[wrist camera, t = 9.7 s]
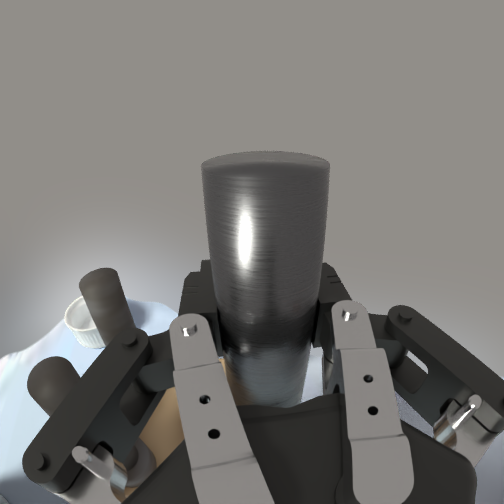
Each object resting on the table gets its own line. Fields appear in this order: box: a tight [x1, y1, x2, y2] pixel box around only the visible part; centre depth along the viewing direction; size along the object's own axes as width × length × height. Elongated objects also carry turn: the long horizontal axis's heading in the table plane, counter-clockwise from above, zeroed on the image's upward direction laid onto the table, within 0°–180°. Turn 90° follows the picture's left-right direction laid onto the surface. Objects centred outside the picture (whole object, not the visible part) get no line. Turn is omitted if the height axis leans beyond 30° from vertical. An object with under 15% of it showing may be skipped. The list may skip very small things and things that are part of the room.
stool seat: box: [27, 268, 227, 498], centre depth 21 cm, size 19×17×16 cm
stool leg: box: [201, 151, 330, 408], centre depth 11 cm, size 4×4×14 cm
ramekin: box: [64, 296, 106, 349], centre depth 36 cm, size 9×9×4 cm
